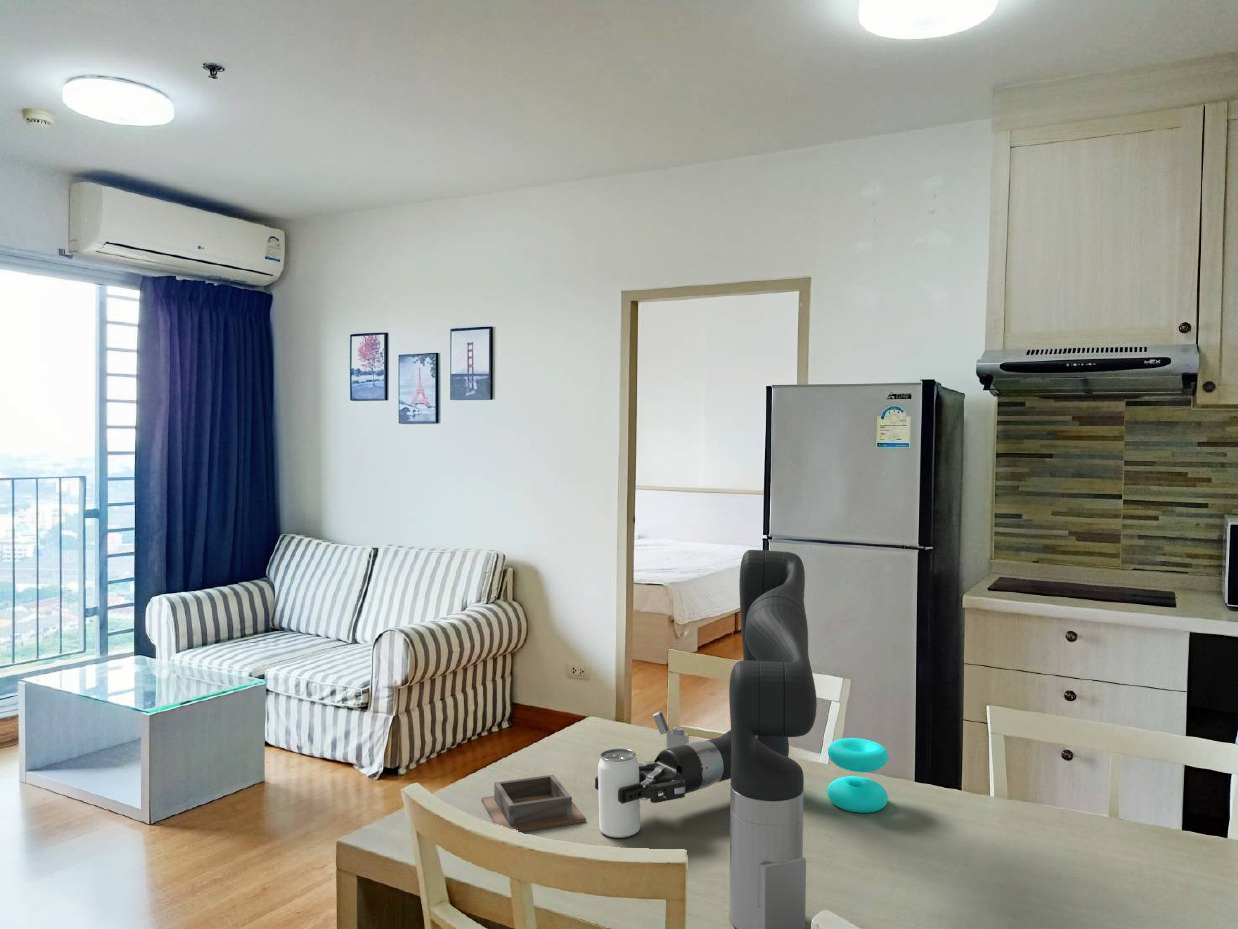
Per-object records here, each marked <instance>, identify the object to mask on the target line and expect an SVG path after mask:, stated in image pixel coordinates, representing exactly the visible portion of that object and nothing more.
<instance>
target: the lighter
mask: <svg viewBox="0 0 1238 929" xmlns="http://www.w3.org/2000/svg"><path fill="white" fill-rule="evenodd" d="M652 717H653V720H654V722H655V724H656V727H657V729H658V732H659V734H660V736H661V735H665V734H666V749H669V748H673V747H677V746H681V745H685V744H689V743H690V734H689V733H686V732H685V730H684V729H683V728H682V727H677V726H673V728H672V730H670V728H669V725H668V722H667V721H666V718H665V716H664V713H663V711H662V710H660V711H657V712H655V713H654V714H652Z"/></svg>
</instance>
